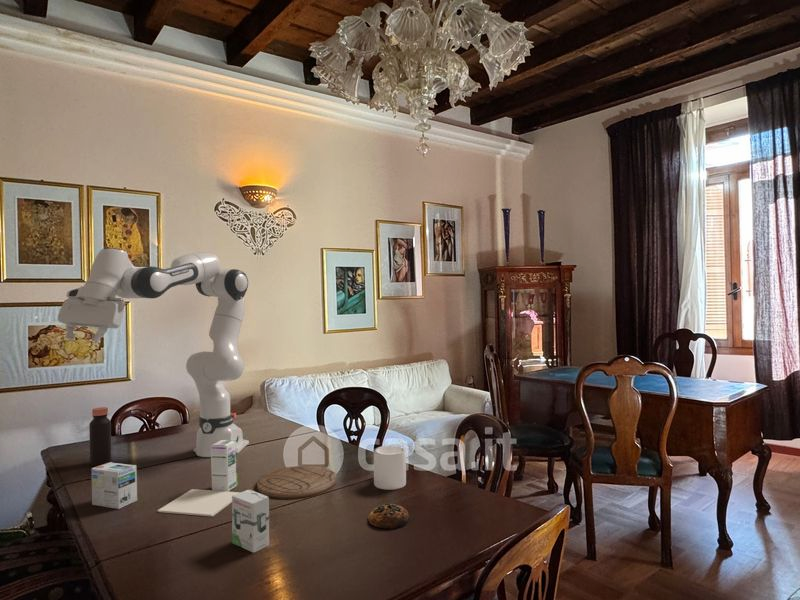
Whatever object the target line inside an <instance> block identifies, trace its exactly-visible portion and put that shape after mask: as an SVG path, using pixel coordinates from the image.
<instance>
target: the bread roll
mask: <svg viewBox="0 0 800 600" xmlns="http://www.w3.org/2000/svg"><path fill="white" fill-rule="evenodd" d="M409 518H410V516H409V511H408V510H407V509H405V507H403V506H401V505H398V504H395V503H385V504H382V505H381V506H378V507H376V508H374V509H372V511H370V513H369V515H368V516H367V519H368V522H369V523H370V524H371V525H372V526H374V527H376V528H381V529H391V530H392V529H398V528H402V527H404V526H406V525H407V523H408V522H409Z"/></svg>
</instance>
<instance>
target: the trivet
mask: <svg viewBox="0 0 800 600" xmlns="http://www.w3.org/2000/svg"><path fill="white" fill-rule="evenodd" d="M337 477H338V476H337V474H336V473H335V472H334V471H333V470H332V469H329V468H328V467H323V466H318V465H317V466H316V465H315V466H314V465H297V466H289V467H288V466H287V467H282V468H278V469H274V470H272V471H269V472H267V473H265V474H263V475H262V476H260V477H259V478H258V480H257V481H256V483H257V485H256V486H257V487H256V488H257V491H258V493H260V494H263V495H265V496H268V498H273V499H284V500H287V499H288V500H290V499H291V500H292V499H293V500H294V499H303V498H309V497H314V496H318V495H321V494H324V493H326V492H328V491H329V490H331V489H333V488H334V487H335V485H337V479H338V478H337Z"/></svg>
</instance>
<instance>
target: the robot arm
mask: <svg viewBox="0 0 800 600" xmlns="http://www.w3.org/2000/svg"><path fill="white" fill-rule="evenodd" d="M221 267H222V266H221V262H220V259H219V257H218V256H217V255H216V254H214V253H212V252H194V253H189V254H188V253H187V254H184V255H181V256H179V257H177V258H174V259H173V260H172V262H171V264H170V267H167V268H161V267H158V266H146V267H140V268H139V267H138V268H137V267H136V266H134V264H133V263H132V262H131V259H130V258H129V254H128V252H127V251H125V250H123V249H119V248H113V247H106V248H103V249H100V250H99V252H98V253H97V254H96V256H95V258H94V260H93V262H92V265H91V267H90V271H89V277H88V278H87V280H86V281H85V283H84V286H80V287H78V288H75V289H71V290H68V291H67V293H66V298H67V299H65V300H64V301H63V303H62V305H61V307H60V309H59V312H58V314H57V320H58V322H59V323H61V324H64V325H65V330H66V334H65V339H67V340H74V339H75V337H76V334H75V332H74V330H75V329H76V327H77V326H78V327H79V326H80V327H93V328H97V329H98V330H97V332H95V334H92V336H91V338H90V340H91V342H92V341H93V342H95V343H96V342H97V343H99V342H101V339H102V337H103V336H104V335H105V334H106V333H107V332H108V329H115V330H117V329H118V328H119V327H120V326H121V324H122V322H123V317H124V311H125V306H126V302H125V300H124V299H157V298H160V297H161V296H162V295H164V294H165V293H166V292H167V291H168V290H170V289H171V288H174V287H177V286H190V285H195V288H196V290H197V291H198V293H199V294H200V295H202V296H205V297H214V298H217V306H216V308H215V311H214V314H213V317H212V322H211V325H210V329H209V332H208V336H209V338H210V339H211V341H212V343H213V350H212V351H200V352H196V353H193V354H191V355H190V356H189V357H188V359H187V361H186V364H185V368H186V372H187V373H188V374H189V376H191V378H192V379H193V381H194V383H195V386H196V388H197V392H198V396H199V412H200V413H199V414H200V416H199V418H198V427H199V429H198V430H197V431H196V443H195V446H196V447H194V448H193V452H195V454H196V455H197V456H198V457H200V458H211V445H213V444H215V443H217V442H219V441H221V440H234V441H236V447H237V454H239V453H240V452H241V451H242V450H243V449H244V448H246V446H247V445H249V443H250V441H249V440H248V439H244V438H243V437H244V435H243V430H242V429H241V428H240V427H239V426H237V425H236V424H235V423H234V419H236V418H237V413H235V412H234V413H232V412H231V395H230V393H229V392H228V390H227V389H226V388H225V387H224V385H223V382H231V381H232V382H233V381H236V380H237V379H240V377H241V376H242V375H243V373H244V370H245V363H244V359H243V358H242V357H241V356H240V354H239V349H238V339H239V335H240V331H241V328H242V323H243V320H244V314H245V308H246V307H245V304H246V303H245V302H246V301H245V299H244V297H245V295H246V292H247V291H248V286H249V280H248V279H249V278H248V277H247V274H246V272H244V271H242V270H240V269H237V268H236V269H235V268H231V269H229V268H221ZM116 296H118V297H116Z"/></svg>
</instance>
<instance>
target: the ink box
mask: <svg viewBox="0 0 800 600" xmlns="http://www.w3.org/2000/svg"><path fill="white" fill-rule="evenodd" d="M231 525H232V526H231V543H232V544H233V545H235V546H237V547H240V548H243V549H244V550H247V551H248V552H251V553H256V552H258V551H260V550H262V549H264V548H266V547H268V546H269V545H270V497H268V496H265V495H263V494H261V493H260V492H257V491H254V490H252V489H246V490H244V491H241V492H240V493H238V494H236V495H233V496H232V502H231Z"/></svg>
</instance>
